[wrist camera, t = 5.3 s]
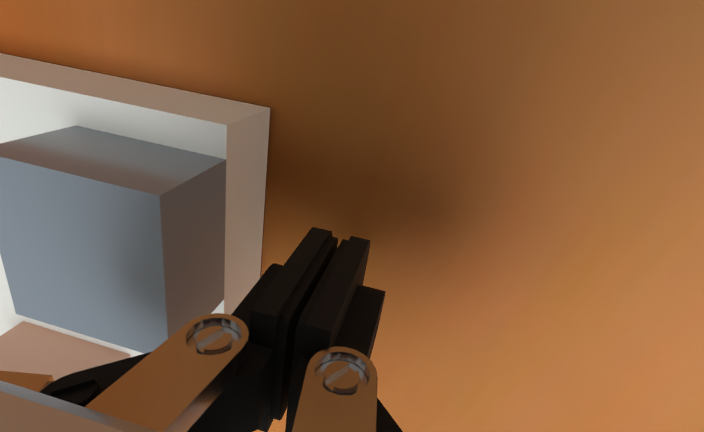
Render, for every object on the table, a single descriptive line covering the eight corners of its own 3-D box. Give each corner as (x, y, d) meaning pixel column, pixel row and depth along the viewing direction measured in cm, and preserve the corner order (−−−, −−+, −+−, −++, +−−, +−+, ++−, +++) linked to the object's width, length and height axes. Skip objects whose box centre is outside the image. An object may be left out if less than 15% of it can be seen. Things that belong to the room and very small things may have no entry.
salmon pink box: (130, 354, 16) (66, 416, 14) (139, 437, 18) (86, 505, 16) (23, 320, 17) (-58, 374, 14) (44, 404, 19) (-23, 464, 17)
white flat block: (270, 107, 14) (226, 125, 11) (251, 422, 21) (221, 479, 18) (-22, 48, 16) (-119, 51, 13) (49, 357, 23) (-5, 400, 20)
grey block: (226, 159, 12) (159, 195, 9) (224, 298, 14) (169, 361, 11) (75, 125, 13) (-28, 149, 10) (95, 263, 15) (15, 313, 12)
